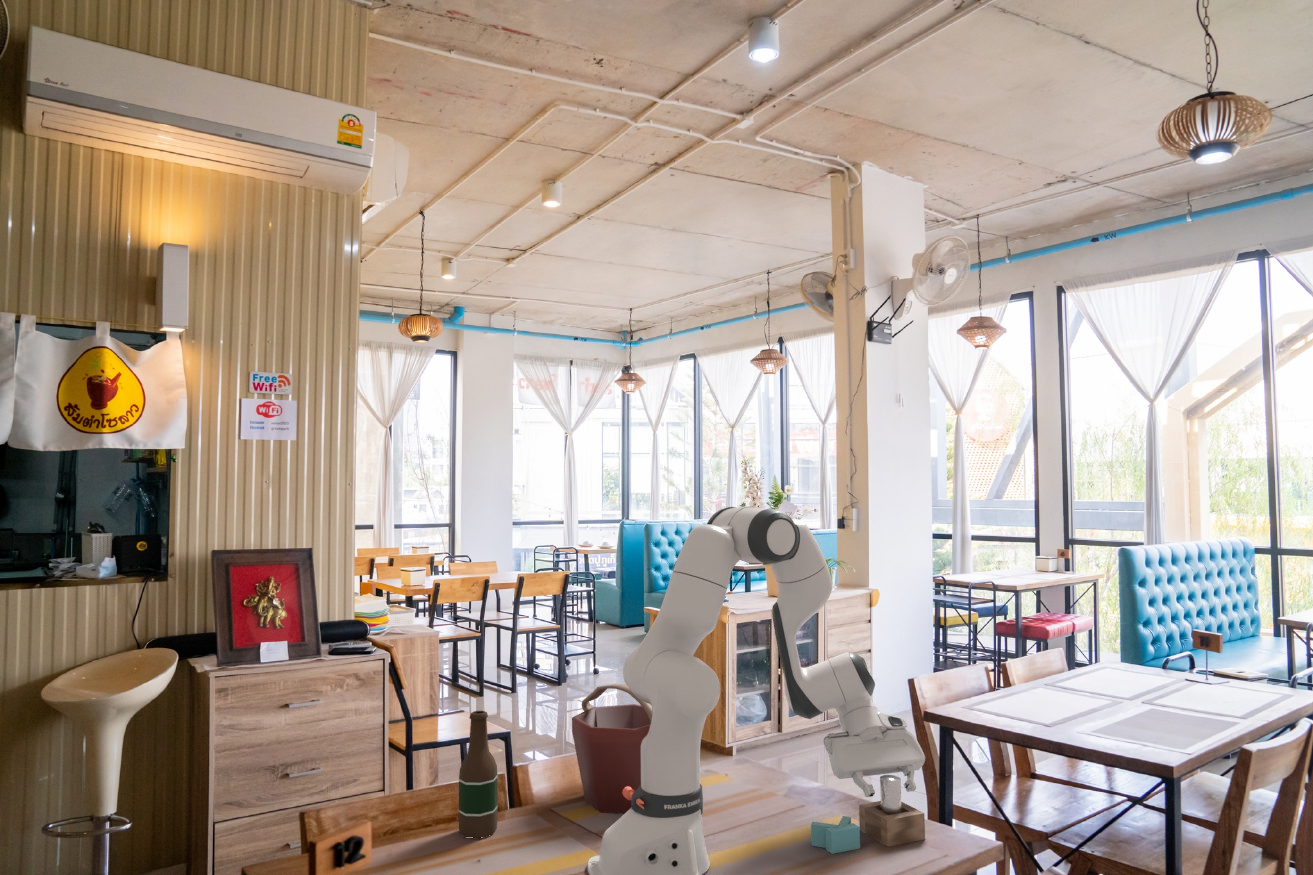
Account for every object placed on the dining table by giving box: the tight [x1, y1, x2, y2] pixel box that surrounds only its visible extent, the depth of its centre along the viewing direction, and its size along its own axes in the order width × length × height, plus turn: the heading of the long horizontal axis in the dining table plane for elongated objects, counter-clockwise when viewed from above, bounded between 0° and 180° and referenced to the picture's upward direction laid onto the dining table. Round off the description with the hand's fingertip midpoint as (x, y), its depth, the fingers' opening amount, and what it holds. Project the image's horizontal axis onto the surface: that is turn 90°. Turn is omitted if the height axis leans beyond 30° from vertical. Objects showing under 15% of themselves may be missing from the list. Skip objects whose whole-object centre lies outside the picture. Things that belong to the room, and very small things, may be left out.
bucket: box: [571, 683, 653, 815], centre depth 189 cm, size 24×22×25 cm
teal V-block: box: [810, 815, 861, 855], centre depth 163 cm, size 9×6×4 cm, turn 112°
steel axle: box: [879, 774, 902, 815], centre depth 168 cm, size 4×4×11 cm
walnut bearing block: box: [858, 800, 926, 848], centre depth 168 cm, size 9×9×5 cm
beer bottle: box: [458, 710, 499, 839], centre depth 172 cm, size 8×8×24 cm
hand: (891, 792), depth 168 cm, fingers open, 8 cm apart
